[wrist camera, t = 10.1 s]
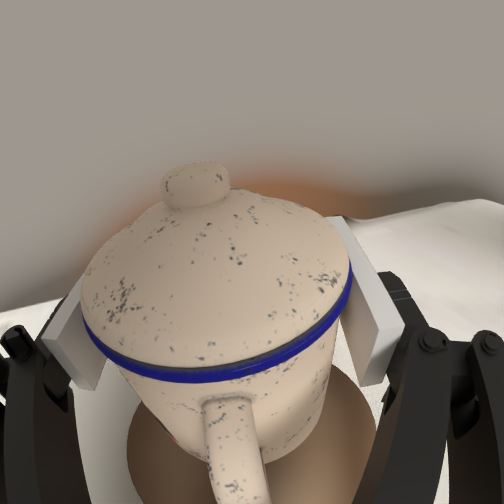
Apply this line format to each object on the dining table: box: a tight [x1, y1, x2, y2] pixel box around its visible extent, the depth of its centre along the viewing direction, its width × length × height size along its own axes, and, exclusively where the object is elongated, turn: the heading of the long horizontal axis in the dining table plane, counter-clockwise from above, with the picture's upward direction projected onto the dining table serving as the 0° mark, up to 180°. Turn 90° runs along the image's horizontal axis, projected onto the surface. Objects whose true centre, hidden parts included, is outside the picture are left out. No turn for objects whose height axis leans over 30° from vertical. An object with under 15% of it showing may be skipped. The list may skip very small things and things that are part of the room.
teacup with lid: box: [80, 162, 352, 504], centre depth 10 cm, size 12×9×12 cm
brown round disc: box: [127, 364, 377, 504], centre depth 15 cm, size 15×15×3 cm
